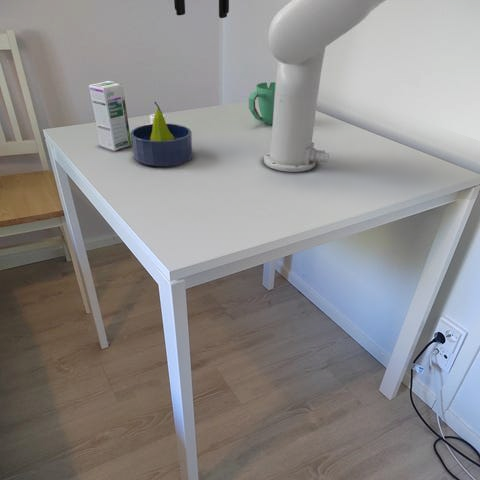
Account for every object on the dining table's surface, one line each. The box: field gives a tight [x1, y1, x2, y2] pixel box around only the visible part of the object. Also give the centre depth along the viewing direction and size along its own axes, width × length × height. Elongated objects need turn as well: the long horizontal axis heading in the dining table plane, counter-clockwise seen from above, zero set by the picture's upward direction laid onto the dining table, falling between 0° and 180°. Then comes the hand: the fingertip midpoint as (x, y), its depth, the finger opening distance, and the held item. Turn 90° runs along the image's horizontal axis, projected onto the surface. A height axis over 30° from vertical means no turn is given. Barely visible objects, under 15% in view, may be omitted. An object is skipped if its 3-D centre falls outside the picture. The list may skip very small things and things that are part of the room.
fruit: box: [150, 101, 175, 141], centre depth 100 cm, size 6×6×12 cm
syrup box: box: [88, 80, 132, 152], centre depth 106 cm, size 6×6×14 cm
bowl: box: [130, 122, 193, 167], centre depth 103 cm, size 14×14×6 cm
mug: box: [248, 81, 276, 126], centre depth 125 cm, size 15×10×10 cm
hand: (201, 16), depth 90 cm, fingers open, 9 cm apart
